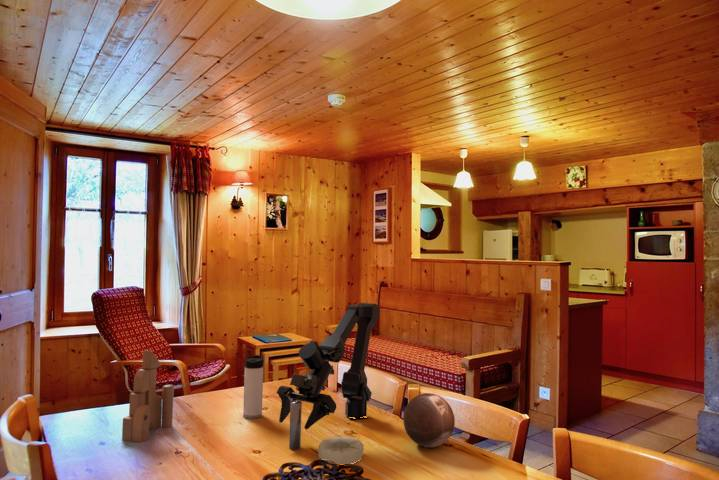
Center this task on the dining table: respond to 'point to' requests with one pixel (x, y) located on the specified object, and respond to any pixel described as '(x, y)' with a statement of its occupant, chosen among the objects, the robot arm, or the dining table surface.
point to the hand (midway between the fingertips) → (292, 425)
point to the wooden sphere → (428, 420)
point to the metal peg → (295, 425)
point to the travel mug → (253, 387)
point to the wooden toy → (147, 403)
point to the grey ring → (341, 450)
